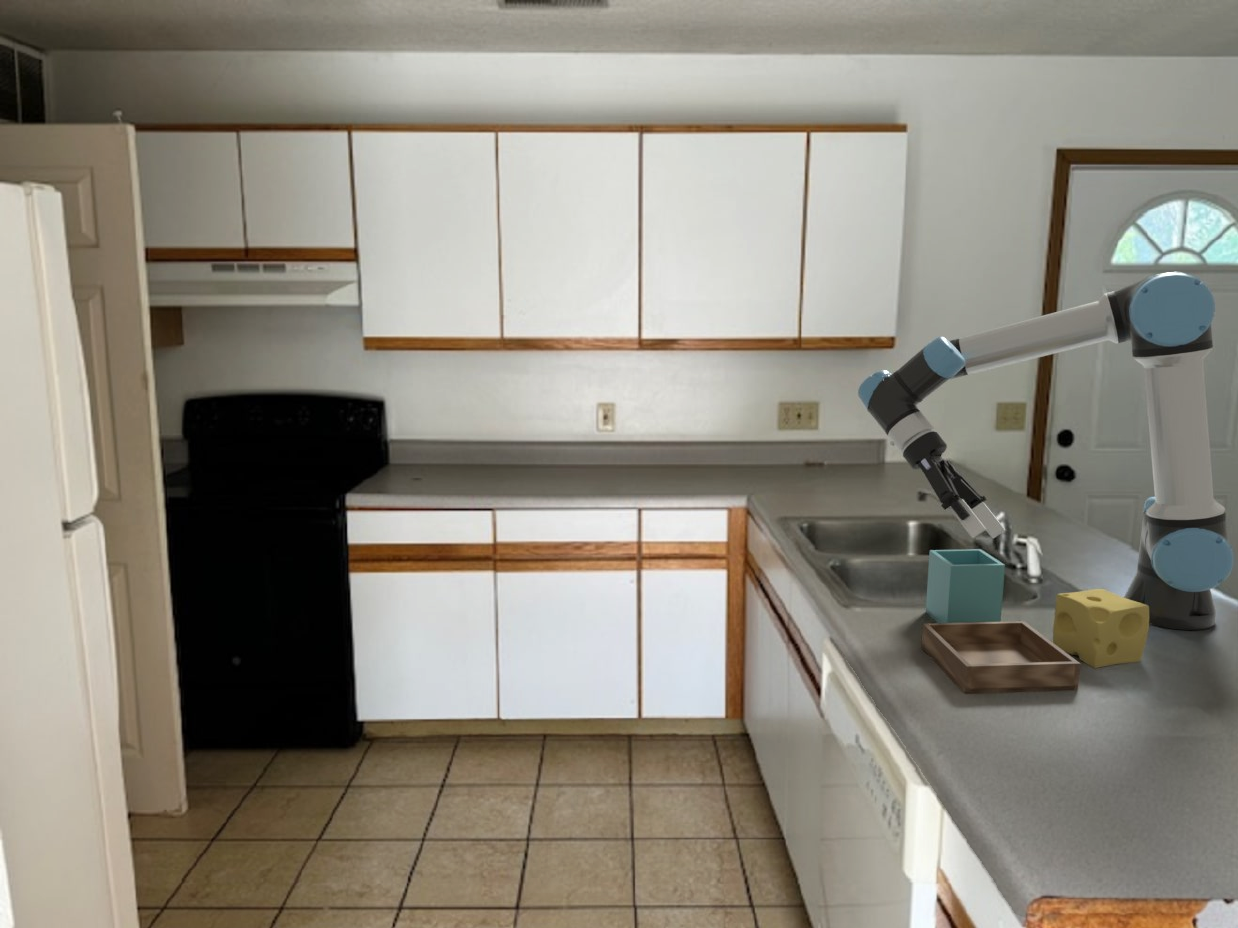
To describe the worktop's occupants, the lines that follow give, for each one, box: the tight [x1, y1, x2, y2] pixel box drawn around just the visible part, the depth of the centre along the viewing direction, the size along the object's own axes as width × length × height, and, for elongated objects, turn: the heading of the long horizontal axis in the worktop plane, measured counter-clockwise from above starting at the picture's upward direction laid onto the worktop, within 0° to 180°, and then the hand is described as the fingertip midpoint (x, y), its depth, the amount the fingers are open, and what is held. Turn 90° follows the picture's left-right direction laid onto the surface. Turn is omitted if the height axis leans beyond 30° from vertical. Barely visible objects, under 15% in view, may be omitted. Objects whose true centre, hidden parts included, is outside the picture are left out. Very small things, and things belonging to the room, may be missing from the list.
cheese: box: [1052, 588, 1150, 669], centre depth 154 cm, size 10×11×10 cm
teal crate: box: [925, 548, 1006, 623], centre depth 168 cm, size 10×10×12 cm
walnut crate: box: [921, 620, 1081, 694], centre depth 148 cm, size 18×18×4 cm
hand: (989, 534), depth 160 cm, fingers open, 13 cm apart
